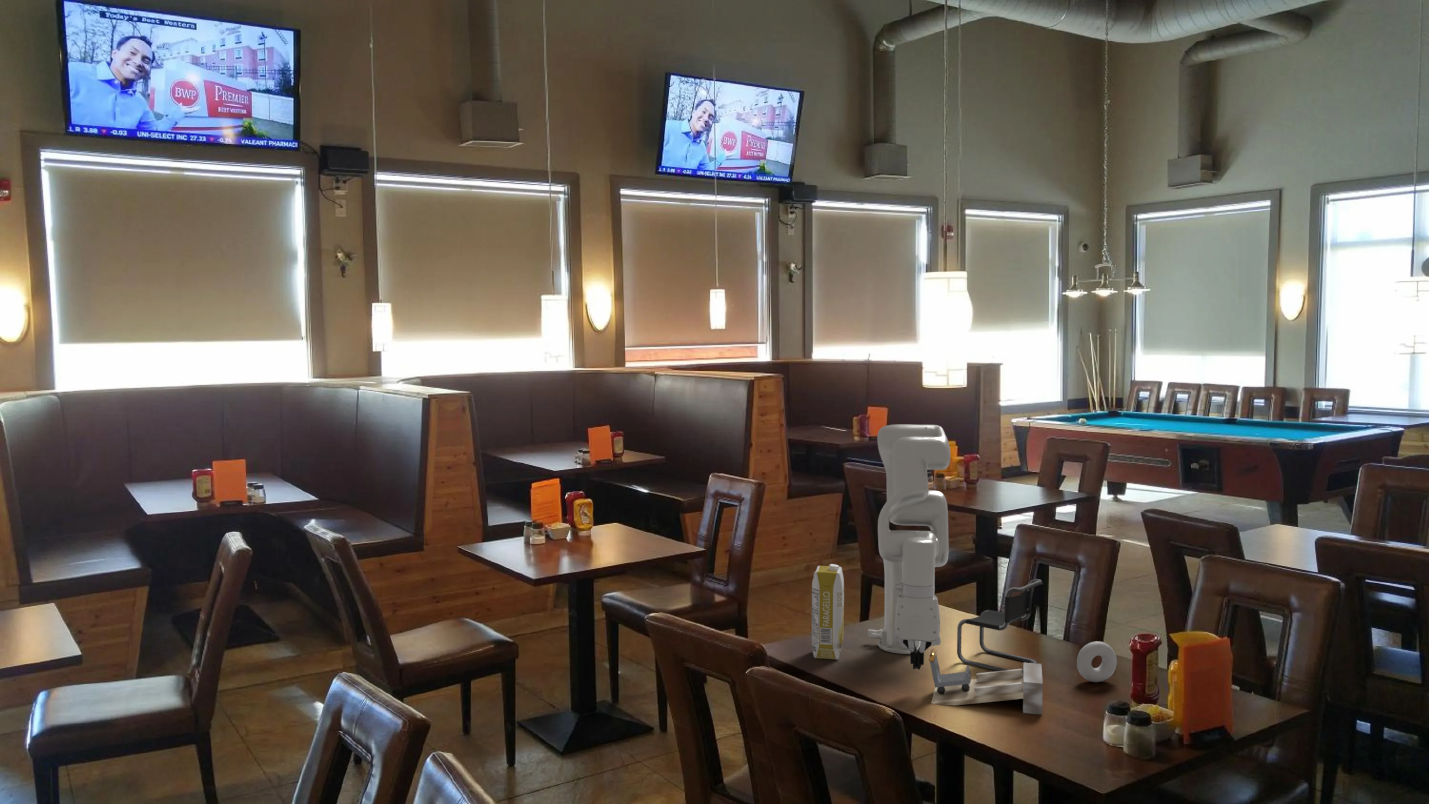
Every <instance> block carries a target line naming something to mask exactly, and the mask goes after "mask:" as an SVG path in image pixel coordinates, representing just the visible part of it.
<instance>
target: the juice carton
mask: <svg viewBox="0 0 1429 804" xmlns="http://www.w3.org/2000/svg"><path fill="white" fill-rule="evenodd" d="M811 583H812V584H811V648H812V655H813V658H814V659H820V660H821V659H824V660H839V659H840V655H841V651H842V647H843V644H844V631H845V630H844V620H845V619H844V618H845V617H844V615H845V614H844V613H845V604H844V603H845V581H844V573H843V568H842V566H839V565H838V564H835V563H831V564H829V565H818V566H817V567H816V570H815V571H814V573H813V578H812V582H811Z"/></svg>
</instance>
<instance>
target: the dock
mask: <svg viewBox="0 0 1429 804" xmlns="http://www.w3.org/2000/svg"><path fill="white" fill-rule="evenodd" d="M1022 662H1023V666H1022V668H1017V669H1016V668H1014V669H1008V670H1004V671H988V672H987V671H986V672H977V673H976V674H975V676H976V678H971V682H970V684H968V685H969V686H970V689H969V691H968V692H964V691H962V685H955V686H945V687H944V688H945V693H944V694H943V695H940V694H938V692H937V688H938V687H936V688H935V687H934V690H933V695H932V700H931V703H930V704H933V705H943V706H950V705H953V706H961V705H971V704H972V705H974V704H982V703H992V702H1001V701H1002V702H1003V701H1011V700H1012V701H1013V700H1020V699H1021V700H1022V712H1023V714H1031V715H1032V714H1033V715H1041V716H1042V715H1043V687H1044V686H1043V683H1044V682H1043V681H1044V680H1043V670H1042V667H1043V666H1042V663H1038V664H1036V663H1028V662H1024V661H1022ZM1022 669H1023V674H1022Z"/></svg>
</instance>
